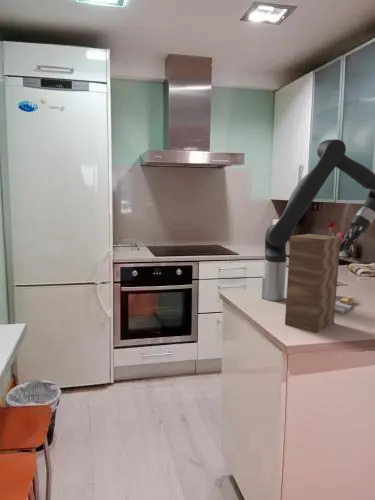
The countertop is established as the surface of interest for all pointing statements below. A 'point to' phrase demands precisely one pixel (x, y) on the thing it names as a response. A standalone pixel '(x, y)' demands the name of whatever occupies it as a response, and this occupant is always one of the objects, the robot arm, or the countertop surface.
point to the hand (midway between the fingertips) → (342, 248)
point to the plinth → (312, 281)
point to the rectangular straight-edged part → (344, 304)
